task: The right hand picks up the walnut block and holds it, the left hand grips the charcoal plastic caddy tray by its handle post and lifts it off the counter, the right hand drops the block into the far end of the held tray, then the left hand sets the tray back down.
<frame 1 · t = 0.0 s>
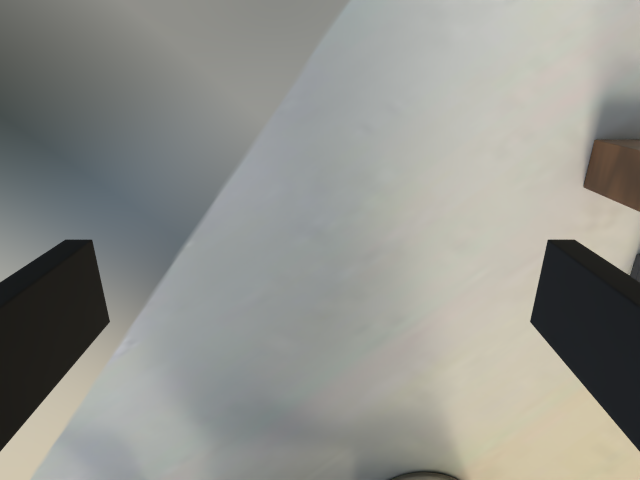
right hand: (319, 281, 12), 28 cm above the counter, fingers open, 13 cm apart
block: (612, 163, 39), on the counter
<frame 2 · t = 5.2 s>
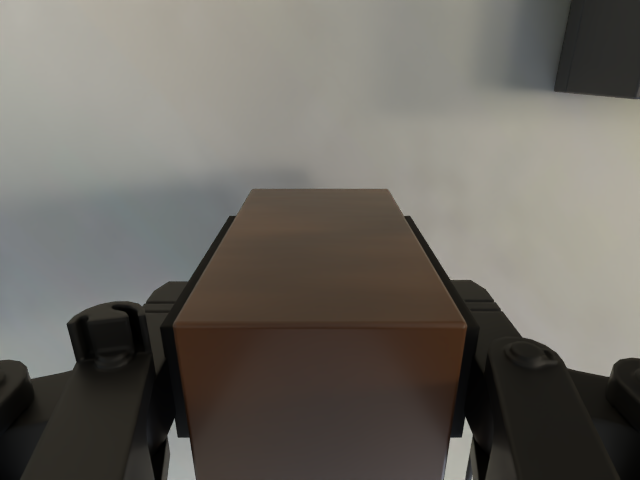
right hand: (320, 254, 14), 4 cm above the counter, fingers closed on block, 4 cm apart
block: (320, 251, 15), point 3 cm above the counter, touching right hand
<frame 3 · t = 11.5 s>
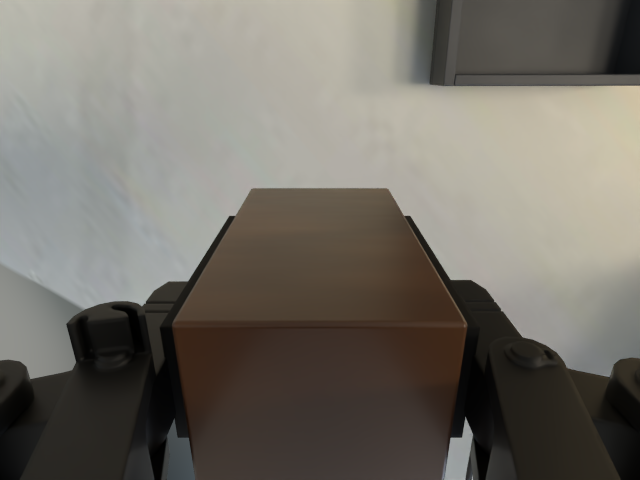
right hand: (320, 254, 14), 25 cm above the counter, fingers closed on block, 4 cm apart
block: (319, 251, 15), point 24 cm above the counter, touching right hand
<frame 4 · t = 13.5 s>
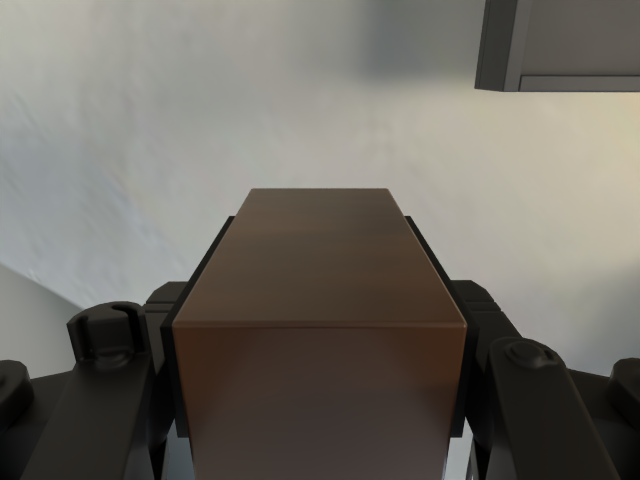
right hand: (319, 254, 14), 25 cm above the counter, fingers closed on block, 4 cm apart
block: (319, 251, 15), point 24 cm above the counter, touching right hand
when the right hand's fingers open (18 cm above the counter, at t = 16.4 s): block drops 6 cm, resting on tray.
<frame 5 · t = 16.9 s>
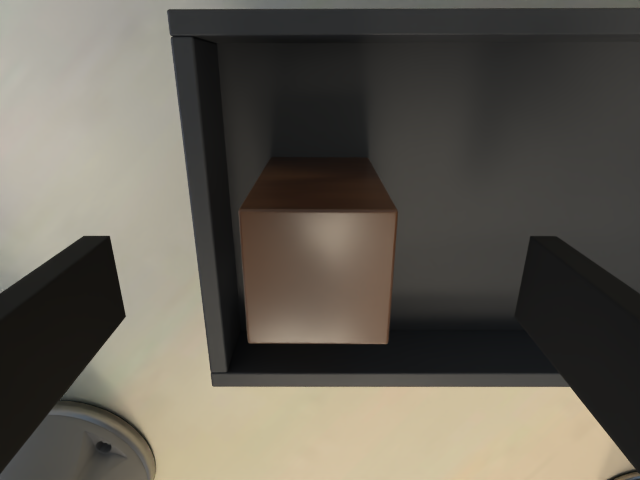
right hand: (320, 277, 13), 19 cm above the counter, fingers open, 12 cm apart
block: (319, 204, 20), point 12 cm above the counter, touching tray
tray: (566, 199, 21), point 11 cm above the counter, touching block, left hand
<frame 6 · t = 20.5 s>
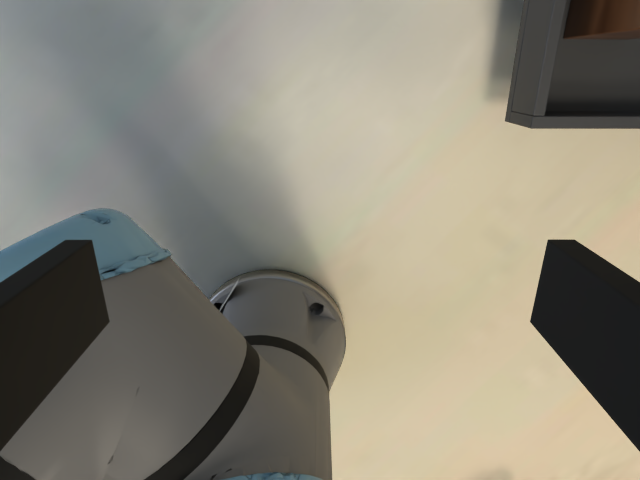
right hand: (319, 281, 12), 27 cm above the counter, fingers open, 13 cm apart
block: (603, 2, 28), point 6 cm above the counter, touching tray
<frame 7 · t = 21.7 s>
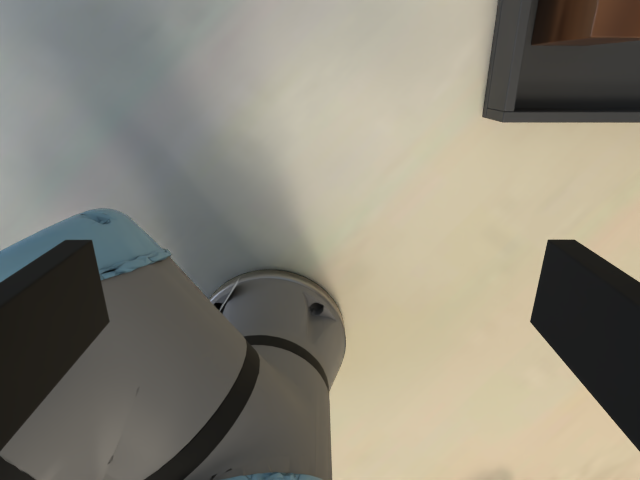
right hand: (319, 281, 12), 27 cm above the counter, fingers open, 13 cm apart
block: (564, 13, 33), point 1 cm above the counter, touching tray
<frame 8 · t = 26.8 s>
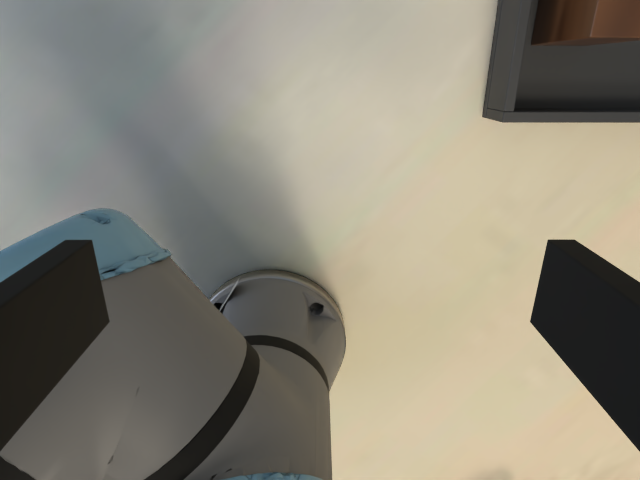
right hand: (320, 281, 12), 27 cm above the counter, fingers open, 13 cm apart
block: (564, 13, 33), point 1 cm above the counter, touching tray
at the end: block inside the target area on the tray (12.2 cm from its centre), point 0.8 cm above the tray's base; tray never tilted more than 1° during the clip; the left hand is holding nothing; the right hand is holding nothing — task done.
